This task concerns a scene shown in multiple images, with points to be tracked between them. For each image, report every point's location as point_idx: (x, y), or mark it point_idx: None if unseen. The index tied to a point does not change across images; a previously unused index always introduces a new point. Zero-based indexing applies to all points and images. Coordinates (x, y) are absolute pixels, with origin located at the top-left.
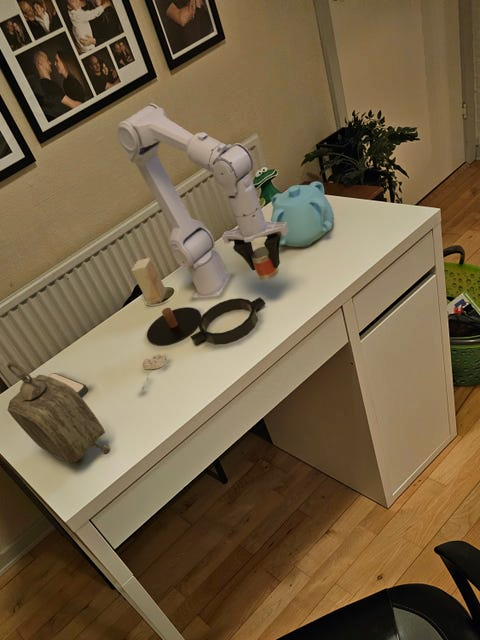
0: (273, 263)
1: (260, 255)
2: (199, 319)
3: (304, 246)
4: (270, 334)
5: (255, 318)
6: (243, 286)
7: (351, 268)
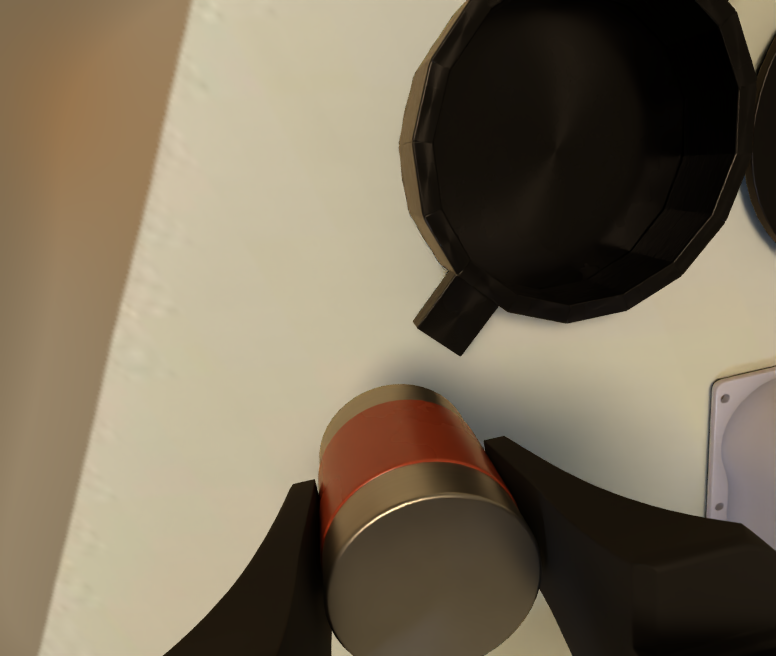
0: (302, 500)
1: (414, 543)
2: (760, 174)
3: None
4: (281, 109)
5: (410, 190)
6: (614, 462)
7: (123, 628)
